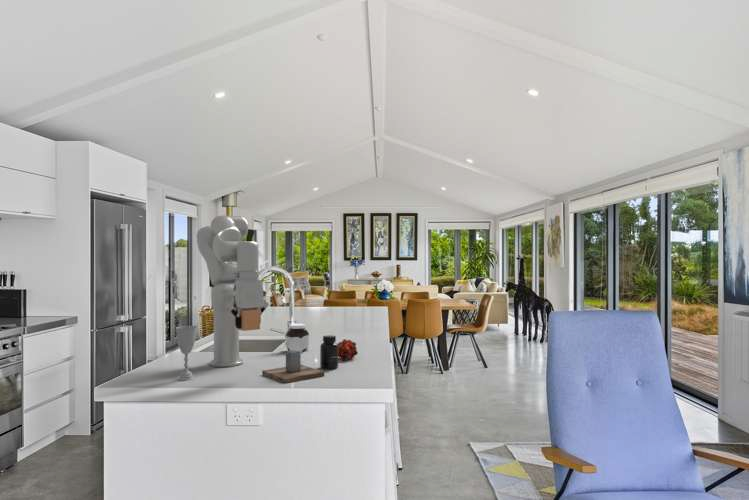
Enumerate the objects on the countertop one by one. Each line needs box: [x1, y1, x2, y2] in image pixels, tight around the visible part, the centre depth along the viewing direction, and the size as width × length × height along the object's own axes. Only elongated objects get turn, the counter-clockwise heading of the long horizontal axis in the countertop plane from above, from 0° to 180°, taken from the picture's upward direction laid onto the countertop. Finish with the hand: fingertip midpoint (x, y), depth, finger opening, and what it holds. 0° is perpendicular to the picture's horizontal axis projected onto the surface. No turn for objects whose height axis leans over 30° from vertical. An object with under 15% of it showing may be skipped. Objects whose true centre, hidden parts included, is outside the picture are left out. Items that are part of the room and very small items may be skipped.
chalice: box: [174, 325, 198, 381], centre depth 185 cm, size 7×7×18 cm
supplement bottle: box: [319, 335, 339, 370], centre depth 202 cm, size 7×7×12 cm
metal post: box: [285, 350, 302, 373], centre depth 190 cm, size 4×4×7 cm
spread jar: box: [285, 323, 310, 353], centre depth 235 cm, size 12×11×12 cm
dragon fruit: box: [337, 338, 359, 361], centre depth 218 cm, size 8×8×12 cm
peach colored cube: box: [236, 308, 261, 332], centre depth 187 cm, size 6×6×7 cm
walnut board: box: [261, 364, 325, 384], centre depth 189 cm, size 16×16×2 cm
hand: (248, 326), depth 187 cm, fingers closed on peach colored cube, 6 cm apart
